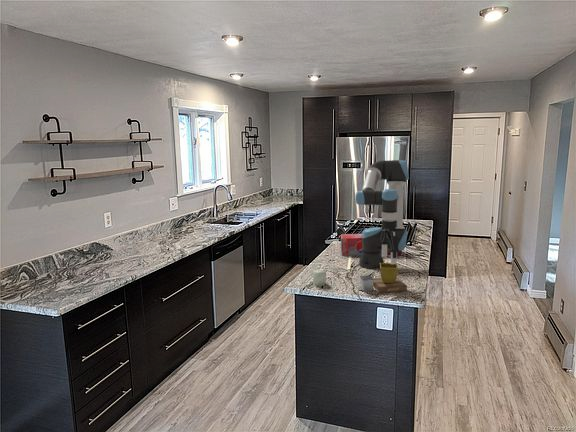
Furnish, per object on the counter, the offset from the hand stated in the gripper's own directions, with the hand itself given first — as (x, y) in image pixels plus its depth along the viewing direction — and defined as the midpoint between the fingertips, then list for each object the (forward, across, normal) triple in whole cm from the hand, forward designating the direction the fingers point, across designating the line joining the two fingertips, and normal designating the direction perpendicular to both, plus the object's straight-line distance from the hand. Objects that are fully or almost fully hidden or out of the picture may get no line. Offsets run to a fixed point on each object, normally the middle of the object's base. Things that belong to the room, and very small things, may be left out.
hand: (388, 260), depth 216 cm
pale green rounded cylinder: (+15, -12, -34) cm, 39 cm away
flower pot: (+12, +1, 0) cm, 12 cm away
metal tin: (+15, +2, -12) cm, 19 cm away
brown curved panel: (+15, +1, 0) cm, 15 cm away
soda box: (+17, -68, +12) cm, 72 cm away
